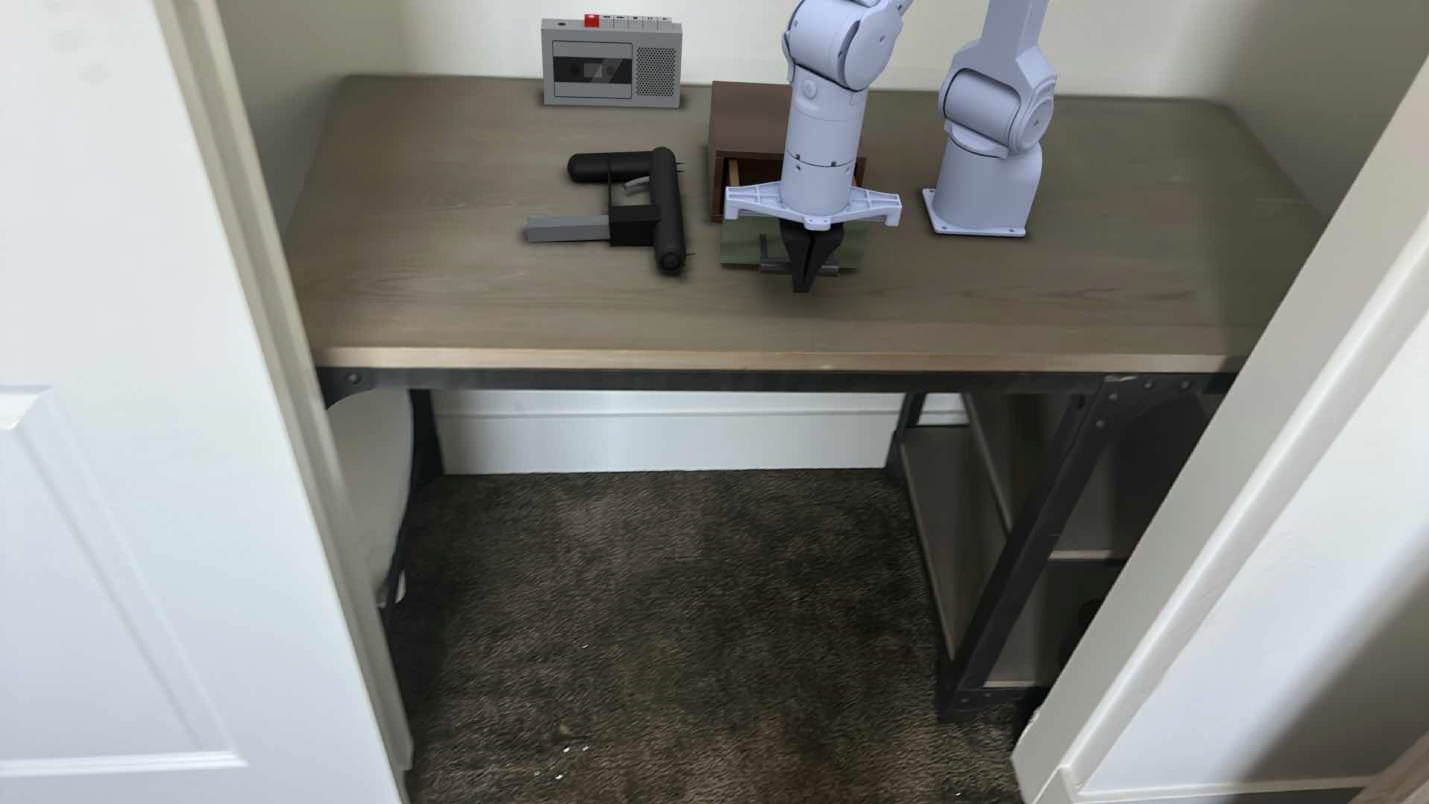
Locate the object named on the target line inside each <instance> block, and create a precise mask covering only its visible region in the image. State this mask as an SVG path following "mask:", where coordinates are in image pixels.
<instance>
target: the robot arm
mask: <svg viewBox="0 0 1429 804" xmlns="http://www.w3.org/2000/svg"><path fill="white" fill-rule="evenodd" d="M914 1H915V0H799V1H798V2H797V3H796V4H795V6H794V7H793V9H792V11H791V13H790V15H789V17H788V20H787V23H786V26H785V27H786V29H785V30H783V32H782V33H781V37H780V39H781V40H780V41H781V49H782V53H783V55H784V58H785V59H786V61H787V65H788V69H787V77H786V79H787V81H788V85H791V86H792V87H793V91H792V99H791V106H790V114H789V122H788V130H787V138H786V146H785V154H784V162H783V170H782V178H781V181H777V182H771V183H764V184H758V185H751V186H743V187H726V192H725V203H724V211H725V219H738V215H744V216H768V217H778V219H779V226H780V234H781V237H782V240H783V243H784V245H785V248H786V250H787V253H788V256H789V259H790V262H791V266H792V275H791V280H790V281H791V288H792V293H794V294H806V295H807V294H809V293H810V290H811V288H812V285H813V283H814V282H815V279H816V277H817V276H816V275H817V273H818V272H819V270H820V268H821V267H822V265H823V264H824V262H825V261H826V260H827V259H828V257H829V256H830V255H831V254H832V253H833V252H834V251H835V250H836V249H837V248H838V247H839V246H840V245H841V243H842V241H843V238H844V228H843V223H844V221H850V220H863V221H869V222H884V223H883V224H884V225H885V226H888V227H899V223H900V218H901V214H902V210H903V205H902V202H901V198H900V195H899V194H897V193H887V192H880V191H876V190H871V189H866V188H862V187H861V188H858V187H854V186H851V184H852V178H853V173H854V167H855V162H856V156H857V150H858V145H859V139H860V134H861V135H862V128H863V122H864V116H865V112H866V111H865V110H866V106H867V99H868V94H869V89H870V86H871V85H872V84H873V83H874V82H875V81H876V80H877V79H878V77H880V75H881V74H882V73H883V72H884V71H885V69H886V67H887V65H888V63H889V61H890V59H891V57H892V54H893V52H894V48H895V44H896V42H897V39H898V36H899V35H900V34H901V32H902V28H903V26H904V21H903V19H902V18H903V16H904V14H905V13H906V12H907V11H908V9H909V8H910V6H911V5H912V4H913V2H914ZM1049 1H1050V0H989V2H988V6H987V9H986V15H985V19H984V22H983V27H982V31H981V35H980V37H978V38H975V39H973V40H971V41H969V42H967V43H965V44H964V45H962V46H961V47H959V49H957V50H956V51H955V52H954V54H953V57H952V60H951V62H950V66H949V68H948V71H947V74H946V75H945V77H944V79H943V81H942V83H941V85H940V88H939V91H938V95H937V111H938V114H939V116H940V117H941V118H942V119H943V120H945V121H944V126H943V129H942V130H943V131H944V132H946V133H948V136H947V140H946V145H945V149H944V153H943V157H942V161H941V166H940V169H939V172H938V173H939V174H938V178H937V182H936V185H935V188H923V189H922V191H921V195H922V198H923V201H924V204H925V207H926V210H927V214H928V216H929V220H930V222H931V225H932V229H933V231H934V232H935V233H936V234H945V235H946V234H947V235H969V236H993V237H1016V238H1021V237H1023V238H1024V237H1025V236H1026V233H1027V232H1026V229H1025V227H1026V225H1027V221H1028V218H1029V214H1030V212H1031V208H1032V205H1033V202H1034V200H1035V196H1036V193H1037V190H1038V187H1039V184H1040V180H1041V175H1042V169H1043V168H1042V167H1043V151H1042V146H1041V144H1040V142H1039V141H1040V140H1041V139H1042V137H1043V136H1044V134H1045V132H1046V131H1047V129H1048V127H1049V125H1050V122H1051V120H1052V117H1053V114H1054V110H1055V102H1054V97H1055V89H1056V86H1057V79H1058V72H1057V71H1056V70H1055V67H1053V65H1052V64H1051V62H1050V60H1049V59H1048V58H1047V56H1046V55H1045V53H1043V51H1042V49H1041V48H1040V46H1039V44H1038V41H1039V38H1040V34H1041V30H1042V27H1043V23H1044V20H1045V16H1046V12H1047V9H1048V5H1049Z"/></svg>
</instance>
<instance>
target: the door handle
mask: <svg viewBox="0 0 1429 804" xmlns="http://www.w3.org/2000/svg"><path fill="white" fill-rule="evenodd" d="M684 164H685V165H686V162H677V158H676V155H675V153H674V152H673V150H672V149H670V148H669V147H667V146H657V147H655V148H653V149H652V150H639V151H638V150H637V151H613V152H612V151H607V152H583V153H582V152H581V153H574V154H572V155H571V156H570V157H569V159H568V160H567V165H566V170H567V173H568V175H569V176H570V178H571V179H572V180H574V181H578V182H582V181H583V182H585V181H587V182H588V181H607V193H608V197H607V198H608V209H607V211H608V214H604V215H603V214H600V215H599V214H598V215H597V214H595V215H575V216H573V215H572V216H571V215H569V216H548V217H545V216H544V217H527V218H526V227H525V229H526V237H527V242H528V243H539V242H562V241H563V242H565V241H587V240H609V244H610V247H632V246H653V251H654V253H653V254H654V260H655V262H656V263H657V267H658V269H659V270H660V271H661V272H662V273H664V274H667V275H674V274H677V273H679V272H681V271H682V270H683V269H684V267H685V263H686V259H687V256H694V255H696V253H695V252H693V253H691V252H689V253H687V246H686V236H685V228H684V219H683V211H682V202H681V192H680V183H679V175H678V173H683V172H685V170H678V166H677V165H684ZM612 180H614V181H615V180H630V181H627V182H625V183H623V185H622V188H623V190H625V191H628V190H630V189H633V188H635V187H637V186H641V185H644V184H648V185H649V196H650V197H649V198H650V203H649V204H627V205H626V204H625V205H612Z"/></svg>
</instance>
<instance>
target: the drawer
mask: <svg viewBox="0 0 1429 804" xmlns="http://www.w3.org/2000/svg"><path fill="white" fill-rule="evenodd" d="M783 162H784V160H770V159H748V158H727V157H725V166H724V177H723V194H724V203H725V192H726V187H743V186H751V185H758V184H764V183H771V182H777V181H781V178H782V170H783ZM851 186H854V187H857V186H856V181H855V177H854V173H853V178H852V184H851ZM721 223H722V224H721V225H722V226H721V235H720V249H719V263H722V264H744V265H758V273H759V275H769V276H770V275H771V276H774V275H775V276H792V266H791V262H790V259H789V256H788V253H787V250H786V248H785V245H784V243H783V240H782V237H781V234H780V226H779V219H778V217H768V216H744V215H738V219H725V211H724V212H723V222H721ZM869 226H870V221H863V220H850V221H844V223H843V228H844V238H843V241H842V243H841V245H840V246H839V247H838V248H837V249H836V250H835V251H834V252H833V253H832V254H831V255H830V256H829V257H828V259H827V260H826V261H825V262H824V264H823V265H822V267H821V268H820V270H819V272H818V273H817V275H816V277H823V278H827V277H828V278H837V277H838V276H839V271H840V268H844V269H845V268H846V269H848V268H849V269H861V265H862V260H863V255H864V250H865V247H866V246H865V245H866V240H867V235H868V231H869V230H868V229H869Z"/></svg>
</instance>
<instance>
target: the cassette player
mask: <svg viewBox="0 0 1429 804" xmlns="http://www.w3.org/2000/svg"><path fill="white" fill-rule="evenodd" d="M583 17H584V18H583V19H571V18H569V19H567V18H541V24H540V38H541V39H540V40H541V62H542V80H543V82H542V83H543V101H544V105H552V106H553V105H555V106H590V107H591V106H592V107H624V108H625V107H629V108H630V107H631V108H663V109H665V108H666V109H667V108H668V109H680V98H681V74H682V58H683V57H682V56H683V55H682V53H683V36H684V35H683V33H684V32H683V25H682V22H673V20H672V17H671V16H652V15H649V16H648V15H625V14H624V15H622V14H621V15H620V14H597V13H596V14H595V13H591V14H590V13H584V16H583Z"/></svg>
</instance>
